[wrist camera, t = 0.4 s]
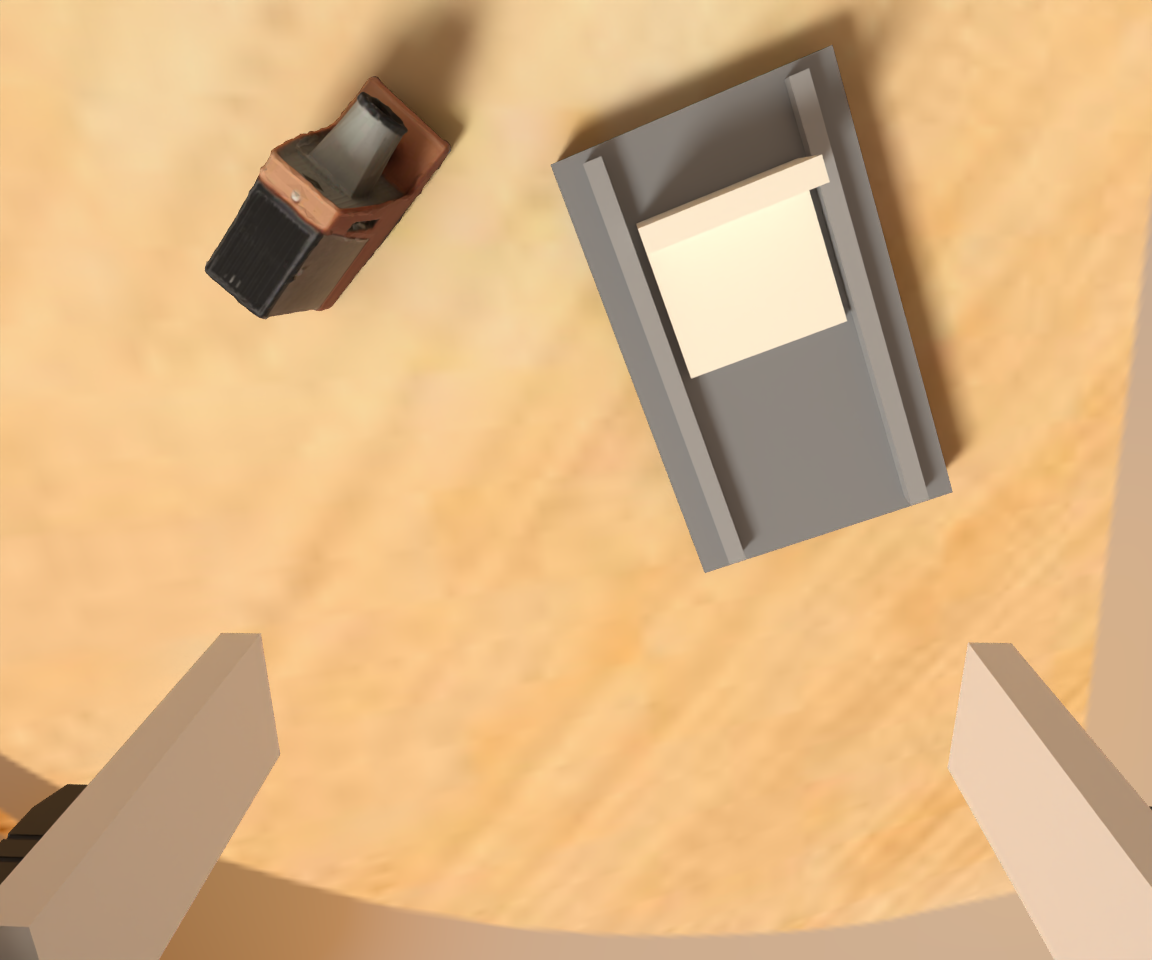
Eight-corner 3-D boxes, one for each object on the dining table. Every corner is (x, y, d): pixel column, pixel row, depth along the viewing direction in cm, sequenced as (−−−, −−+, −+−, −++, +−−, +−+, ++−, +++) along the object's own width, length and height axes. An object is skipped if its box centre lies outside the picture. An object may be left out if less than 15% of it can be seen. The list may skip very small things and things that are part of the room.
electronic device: (458, 148, 37) (417, 140, 30) (333, 313, 40) (268, 341, 33) (379, 76, 36) (317, 50, 29) (257, 249, 39) (173, 264, 32)
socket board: (554, 165, 37) (548, 164, 34) (820, 52, 35) (838, 40, 32) (701, 555, 43) (706, 582, 40) (937, 477, 41) (960, 499, 38)
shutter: (635, 223, 36) (637, 228, 31) (796, 158, 34) (821, 154, 30) (690, 375, 38) (699, 400, 33) (843, 319, 36) (873, 337, 32)
